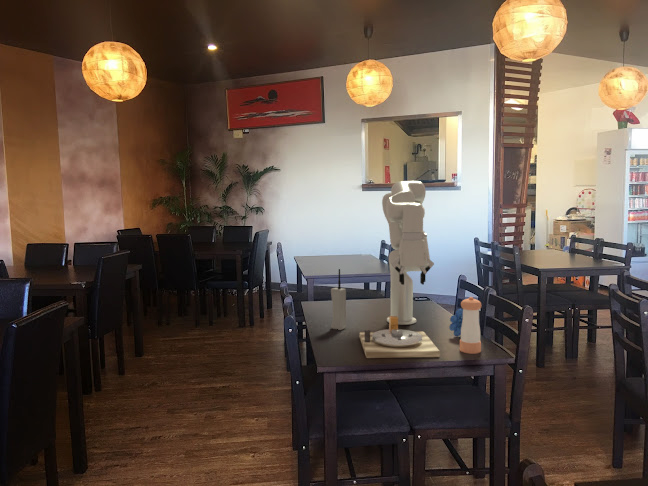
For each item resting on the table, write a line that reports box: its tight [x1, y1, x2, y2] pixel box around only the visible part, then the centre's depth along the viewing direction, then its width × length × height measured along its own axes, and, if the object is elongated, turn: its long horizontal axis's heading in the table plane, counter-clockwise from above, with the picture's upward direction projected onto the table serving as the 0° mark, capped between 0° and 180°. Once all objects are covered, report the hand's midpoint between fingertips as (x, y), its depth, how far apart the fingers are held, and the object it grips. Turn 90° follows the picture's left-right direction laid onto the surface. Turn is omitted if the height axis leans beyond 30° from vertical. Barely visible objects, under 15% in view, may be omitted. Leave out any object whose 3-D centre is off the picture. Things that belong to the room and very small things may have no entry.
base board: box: [359, 329, 441, 359], centre depth 184 cm, size 25×25×6 cm
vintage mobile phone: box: [330, 268, 347, 331], centre depth 208 cm, size 4×5×25 cm
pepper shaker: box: [459, 296, 483, 355], centre depth 178 cm, size 7×7×19 cm
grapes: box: [448, 308, 480, 337], centre depth 196 cm, size 12×7×12 cm, turn 90°
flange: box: [372, 315, 422, 347], centre depth 184 cm, size 18×18×6 cm
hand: (412, 283), depth 190 cm, fingers open, 6 cm apart
